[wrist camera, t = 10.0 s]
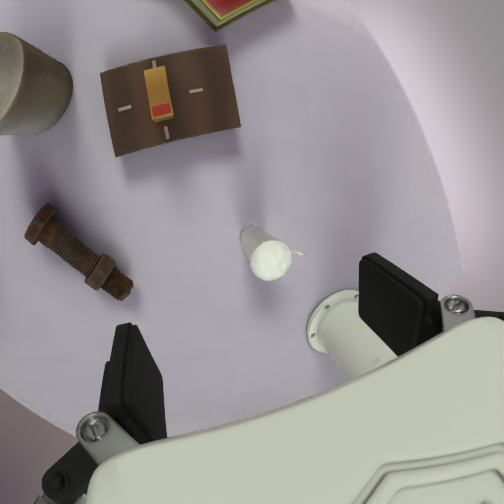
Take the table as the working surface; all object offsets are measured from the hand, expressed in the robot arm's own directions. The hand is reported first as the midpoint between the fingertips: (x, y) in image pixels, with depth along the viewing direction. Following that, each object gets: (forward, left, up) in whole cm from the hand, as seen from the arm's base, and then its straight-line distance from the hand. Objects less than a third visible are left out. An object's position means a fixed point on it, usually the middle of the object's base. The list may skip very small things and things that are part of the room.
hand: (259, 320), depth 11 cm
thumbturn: (+2, -12, -23) cm, 26 cm away
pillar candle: (+17, -18, -26) cm, 36 cm away
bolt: (+16, +3, -26) cm, 31 cm away
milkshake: (-6, +7, -26) cm, 28 cm away
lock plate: (+1, -12, -26) cm, 29 cm away
